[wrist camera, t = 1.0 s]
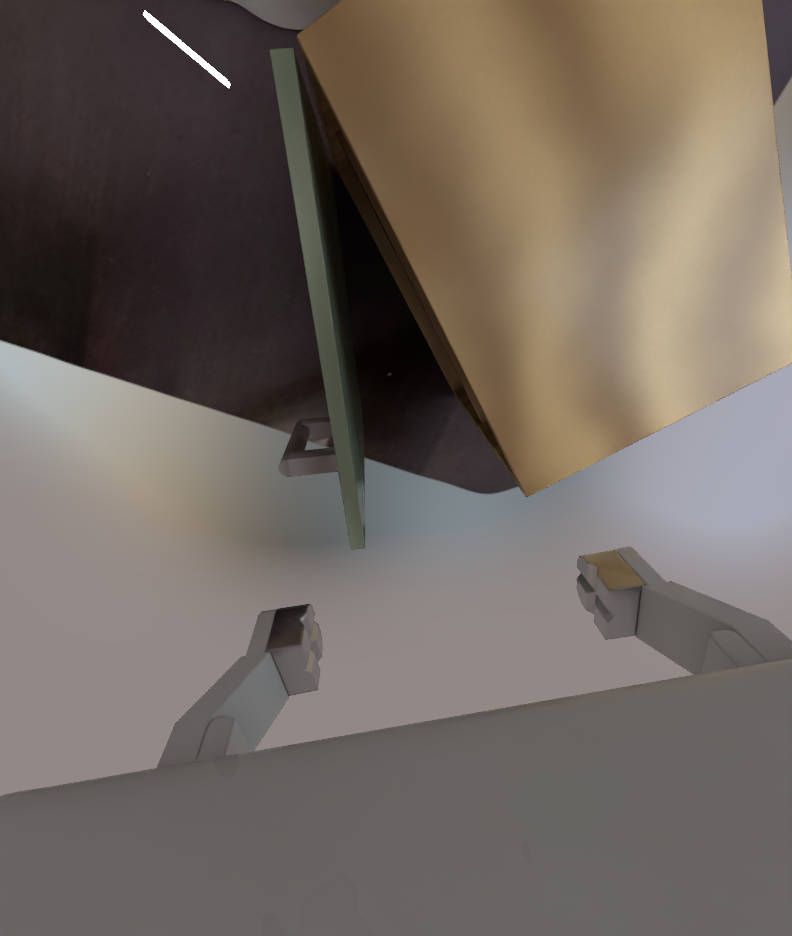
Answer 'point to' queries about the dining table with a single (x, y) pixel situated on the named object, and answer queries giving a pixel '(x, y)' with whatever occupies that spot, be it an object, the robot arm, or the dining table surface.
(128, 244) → the dining table surface
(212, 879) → the robot arm
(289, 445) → the door
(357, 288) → the dining table surface
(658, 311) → the cupboard
